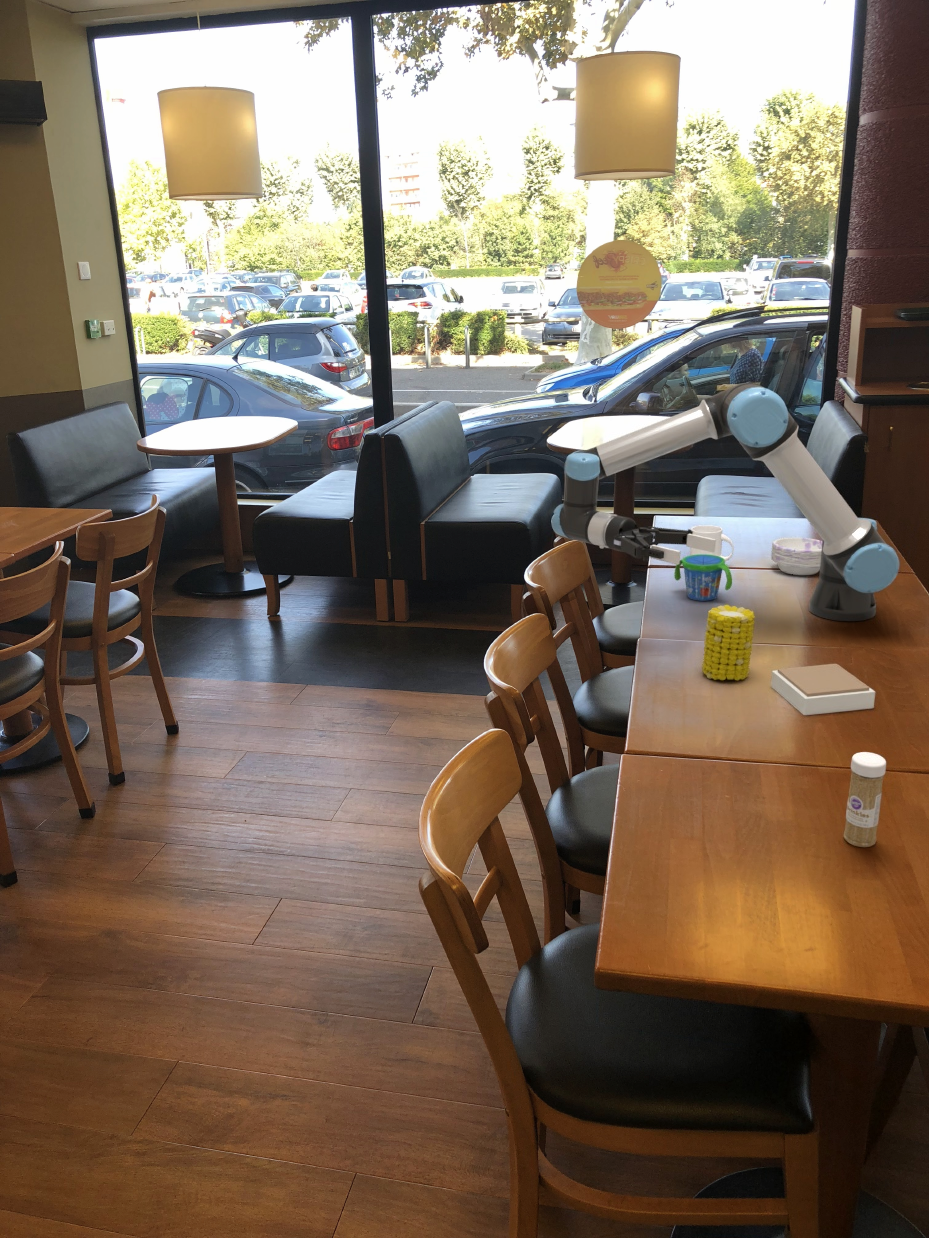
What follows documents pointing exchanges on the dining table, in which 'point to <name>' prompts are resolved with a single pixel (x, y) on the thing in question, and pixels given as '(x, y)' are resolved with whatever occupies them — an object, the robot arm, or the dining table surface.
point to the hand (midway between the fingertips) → (697, 552)
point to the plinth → (822, 689)
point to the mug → (712, 533)
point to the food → (728, 643)
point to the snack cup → (703, 575)
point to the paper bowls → (797, 555)
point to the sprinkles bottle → (864, 799)
